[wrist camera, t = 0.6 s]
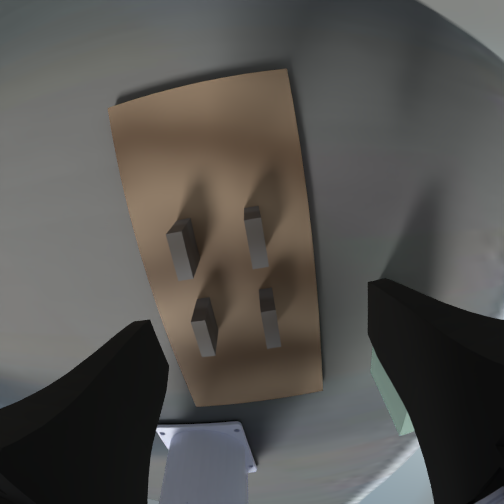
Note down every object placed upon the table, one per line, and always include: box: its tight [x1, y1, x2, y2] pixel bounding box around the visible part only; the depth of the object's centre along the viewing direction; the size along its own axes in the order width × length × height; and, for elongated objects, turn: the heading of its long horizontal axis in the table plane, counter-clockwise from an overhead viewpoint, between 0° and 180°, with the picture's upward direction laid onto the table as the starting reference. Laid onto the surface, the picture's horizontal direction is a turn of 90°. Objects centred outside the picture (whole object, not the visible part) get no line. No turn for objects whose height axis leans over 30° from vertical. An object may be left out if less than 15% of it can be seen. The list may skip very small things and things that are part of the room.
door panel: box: [371, 348, 415, 436], centre depth 18 cm, size 8×2×7 cm, turn 9°
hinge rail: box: [108, 69, 323, 407], centre depth 17 cm, size 22×10×3 cm, turn 9°
